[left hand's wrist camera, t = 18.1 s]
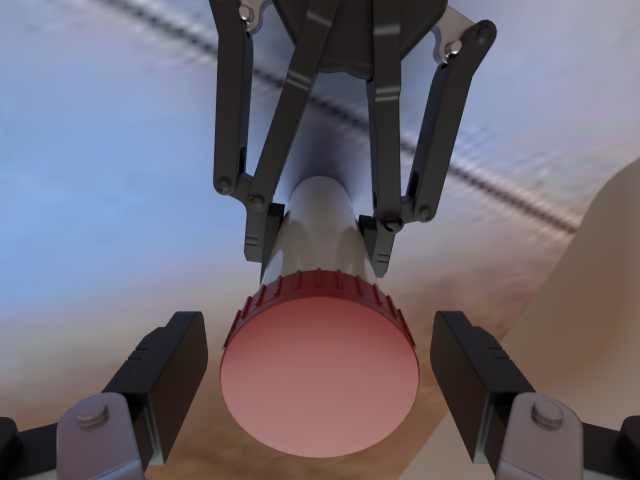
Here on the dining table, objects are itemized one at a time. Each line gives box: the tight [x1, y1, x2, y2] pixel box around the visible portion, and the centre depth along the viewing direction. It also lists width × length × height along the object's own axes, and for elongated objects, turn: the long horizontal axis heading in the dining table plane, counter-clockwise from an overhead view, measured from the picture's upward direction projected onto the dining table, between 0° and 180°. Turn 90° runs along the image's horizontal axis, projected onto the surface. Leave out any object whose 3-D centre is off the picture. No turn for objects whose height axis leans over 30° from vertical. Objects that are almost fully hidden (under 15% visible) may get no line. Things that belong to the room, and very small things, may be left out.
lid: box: [220, 268, 420, 457], centre depth 10 cm, size 5×5×2 cm
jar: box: [259, 176, 381, 291], centre depth 19 cm, size 5×5×18 cm
